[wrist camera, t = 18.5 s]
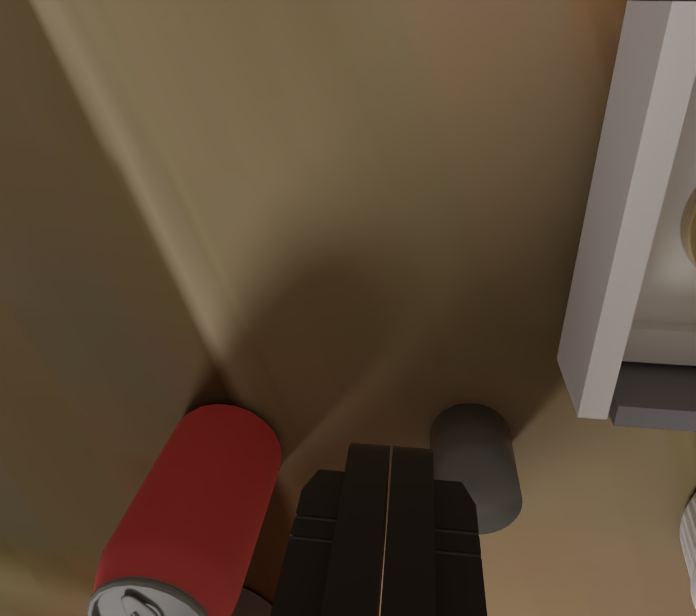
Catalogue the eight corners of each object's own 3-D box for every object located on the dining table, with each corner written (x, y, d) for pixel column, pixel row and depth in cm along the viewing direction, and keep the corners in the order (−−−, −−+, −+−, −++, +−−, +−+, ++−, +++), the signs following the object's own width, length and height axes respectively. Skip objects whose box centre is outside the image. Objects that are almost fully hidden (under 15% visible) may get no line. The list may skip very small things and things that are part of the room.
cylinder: (427, 462, 35) (427, 529, 30) (433, 401, 33) (433, 463, 28) (504, 469, 34) (515, 538, 30) (514, 407, 32) (528, 471, 28)
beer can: (251, 384, 34) (170, 560, 23) (303, 468, 36) (251, 663, 26) (157, 416, 36) (43, 592, 25) (213, 494, 38) (130, 684, 28)
